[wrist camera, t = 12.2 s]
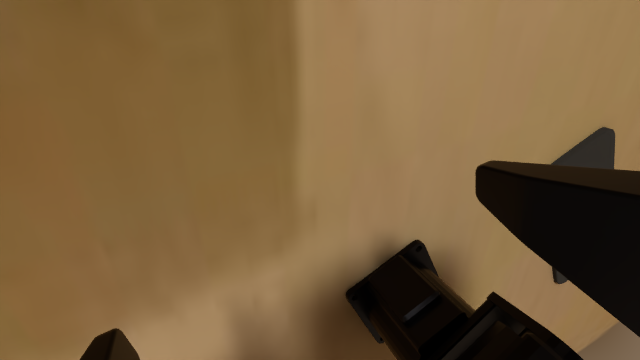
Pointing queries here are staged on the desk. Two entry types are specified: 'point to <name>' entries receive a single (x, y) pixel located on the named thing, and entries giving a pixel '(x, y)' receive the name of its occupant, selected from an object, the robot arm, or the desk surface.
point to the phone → (589, 161)
